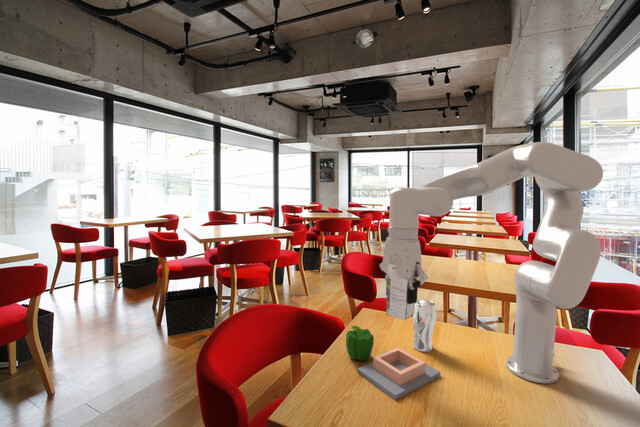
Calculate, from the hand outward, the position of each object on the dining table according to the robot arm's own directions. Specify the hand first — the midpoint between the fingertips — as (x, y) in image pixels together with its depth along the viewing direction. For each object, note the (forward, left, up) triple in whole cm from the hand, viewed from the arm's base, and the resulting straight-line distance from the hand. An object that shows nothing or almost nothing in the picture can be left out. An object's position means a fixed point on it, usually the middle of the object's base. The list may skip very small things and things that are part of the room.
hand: (401, 298), depth 89 cm
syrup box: (0, 0, -5) cm, 5 cm away
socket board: (0, 0, -22) cm, 22 cm away
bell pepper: (+3, -13, -22) cm, 26 cm away
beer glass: (-18, -6, -22) cm, 29 cm away
